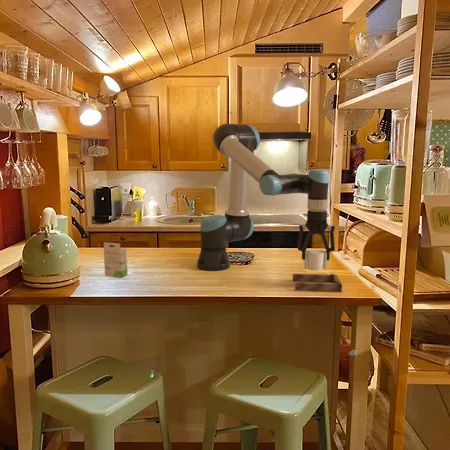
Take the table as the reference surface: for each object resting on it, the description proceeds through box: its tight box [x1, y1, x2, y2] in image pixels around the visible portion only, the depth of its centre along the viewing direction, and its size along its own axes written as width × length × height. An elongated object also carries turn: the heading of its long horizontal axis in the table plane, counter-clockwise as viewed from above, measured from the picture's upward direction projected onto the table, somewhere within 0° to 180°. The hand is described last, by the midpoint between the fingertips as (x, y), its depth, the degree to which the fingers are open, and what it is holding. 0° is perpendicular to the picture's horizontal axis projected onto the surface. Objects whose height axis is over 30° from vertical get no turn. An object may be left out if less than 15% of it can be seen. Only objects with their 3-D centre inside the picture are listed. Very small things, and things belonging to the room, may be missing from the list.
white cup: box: [306, 249, 325, 272], centre depth 167 cm, size 7×7×7 cm
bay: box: [292, 273, 343, 293], centre depth 168 cm, size 18×13×4 cm
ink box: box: [103, 242, 128, 278], centre depth 181 cm, size 9×5×15 cm, turn 71°
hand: (315, 267), depth 167 cm, fingers closed on white cup, 7 cm apart
